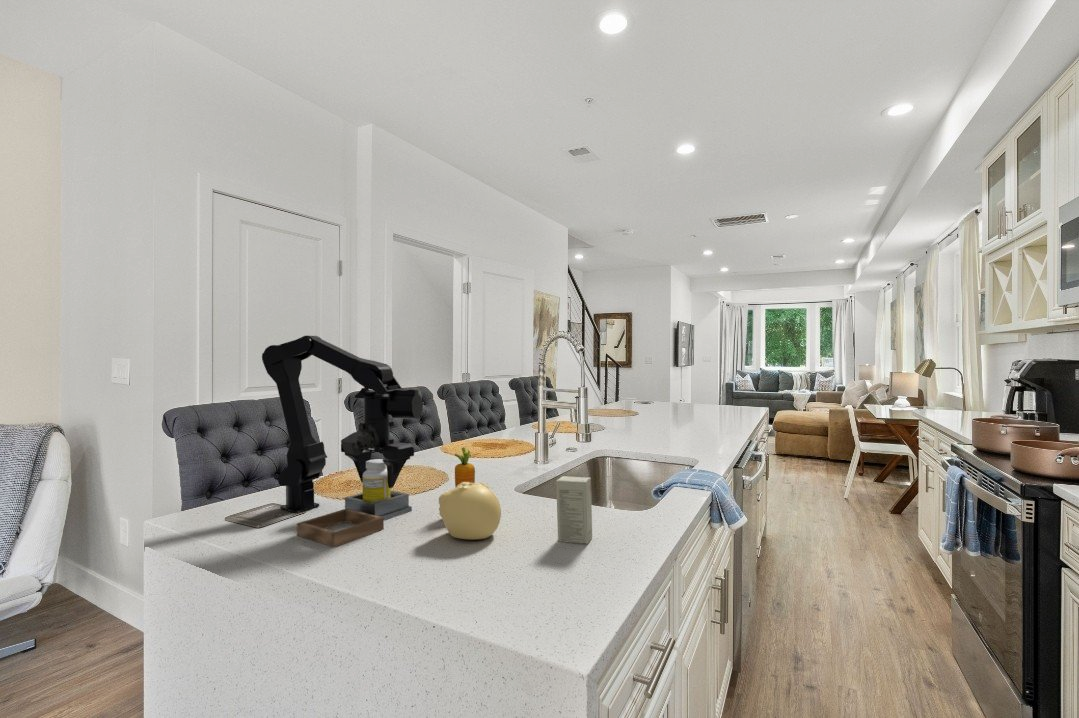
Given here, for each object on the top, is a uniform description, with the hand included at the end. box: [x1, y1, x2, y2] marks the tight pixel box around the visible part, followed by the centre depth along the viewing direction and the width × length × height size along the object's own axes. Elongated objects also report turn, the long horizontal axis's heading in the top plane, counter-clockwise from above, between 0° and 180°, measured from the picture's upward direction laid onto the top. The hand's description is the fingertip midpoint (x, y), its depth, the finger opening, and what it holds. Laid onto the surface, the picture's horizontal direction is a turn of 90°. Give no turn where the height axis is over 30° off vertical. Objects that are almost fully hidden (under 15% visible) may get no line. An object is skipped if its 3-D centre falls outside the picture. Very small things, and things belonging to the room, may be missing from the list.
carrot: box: [454, 447, 476, 488], centre depth 124 cm, size 5×5×15 cm
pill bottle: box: [362, 458, 391, 503], centre depth 124 cm, size 6×6×11 cm
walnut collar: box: [296, 508, 385, 548], centre depth 111 cm, size 12×12×2 cm
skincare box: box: [555, 475, 593, 544], centre depth 106 cm, size 6×4×12 cm
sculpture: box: [438, 482, 502, 541], centre depth 109 cm, size 11×12×11 cm
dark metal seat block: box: [344, 489, 413, 521], centre depth 124 cm, size 11×11×4 cm
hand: (377, 485), depth 124 cm, fingers open, 9 cm apart
